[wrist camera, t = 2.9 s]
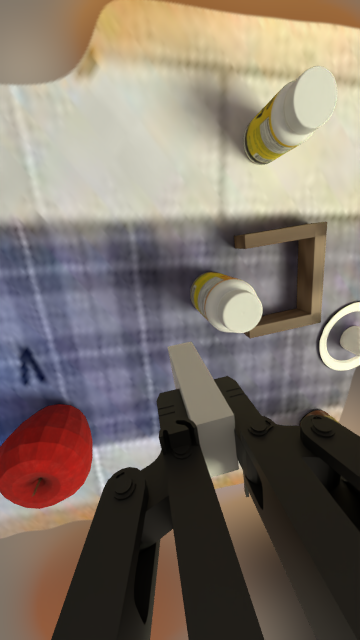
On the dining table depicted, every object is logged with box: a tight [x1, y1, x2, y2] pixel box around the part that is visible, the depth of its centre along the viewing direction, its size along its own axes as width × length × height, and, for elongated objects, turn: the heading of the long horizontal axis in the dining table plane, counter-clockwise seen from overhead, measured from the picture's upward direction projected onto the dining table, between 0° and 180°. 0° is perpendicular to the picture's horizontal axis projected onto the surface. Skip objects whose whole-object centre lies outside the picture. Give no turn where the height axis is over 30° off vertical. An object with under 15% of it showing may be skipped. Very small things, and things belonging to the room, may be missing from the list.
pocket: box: [234, 222, 327, 338], centre depth 30 cm, size 13×10×3 cm
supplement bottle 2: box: [244, 66, 337, 165], centre depth 22 cm, size 5×5×8 cm
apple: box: [0, 404, 92, 509], centre depth 27 cm, size 10×10×11 cm
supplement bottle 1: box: [190, 272, 262, 333], centre depth 26 cm, size 6×6×10 cm
